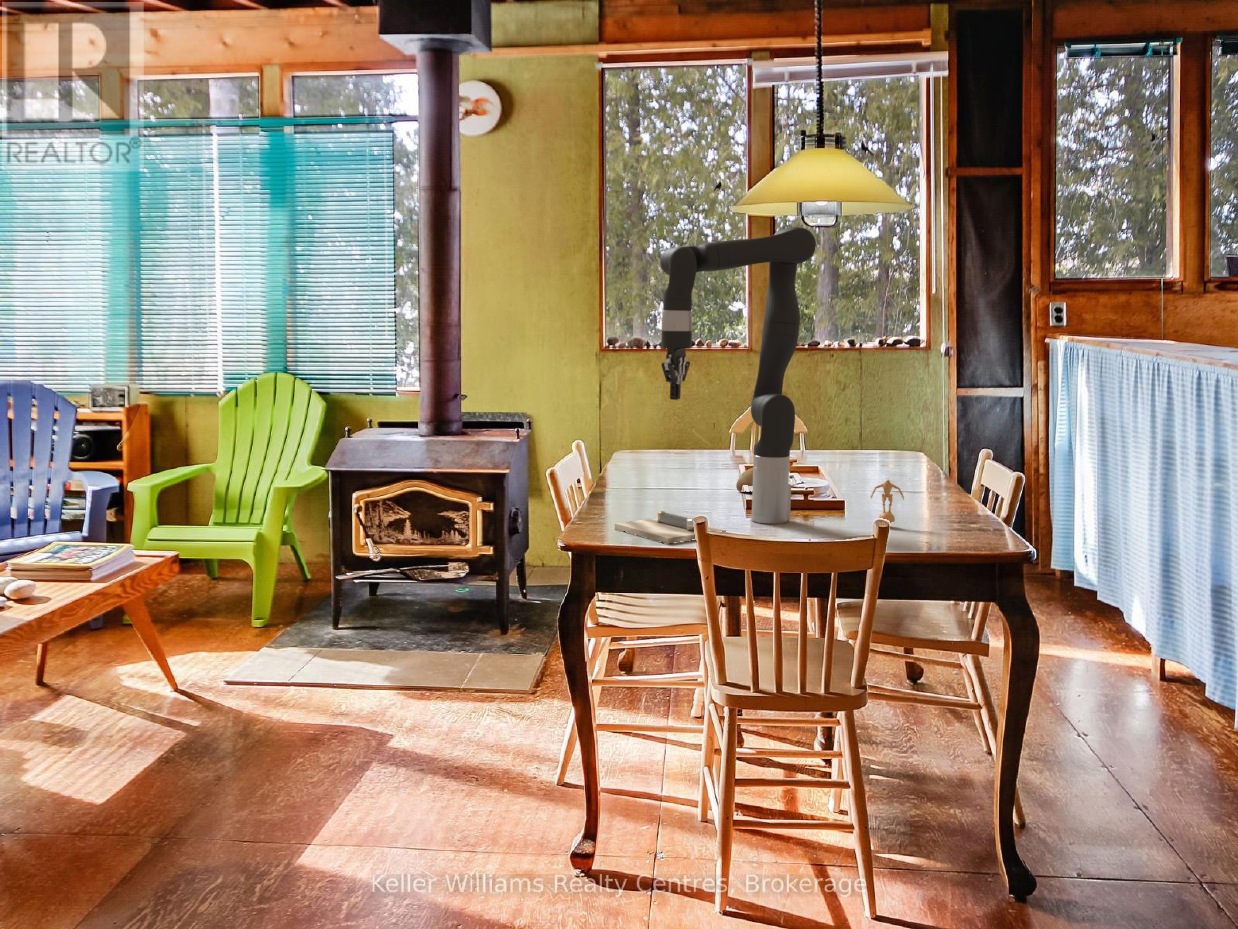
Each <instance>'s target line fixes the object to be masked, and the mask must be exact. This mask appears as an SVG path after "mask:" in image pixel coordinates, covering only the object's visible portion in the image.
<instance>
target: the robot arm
mask: <svg viewBox="0 0 1238 929" xmlns="http://www.w3.org/2000/svg"><path fill="white" fill-rule="evenodd" d="M816 248H817V240H816V238H815V236H814V234H813V233H812V232H811V231H810V230H809V229H807V228H805V227H802V226H792V227H791V226H790V227H785V228H781V229H779V230H777V231H776V232H775V233H774V234H773V235H768V236H764V237H763V236H762V237H755V238H744V239H741V238H740V239H730V240H729V239H728V240H720V241H712V242H707V243H702V244H699V245H689V246H688V245H687V246H686V245H684V246H682V245H681V246H675V247H673V246H672V247H670V248H668V249H666V250H665V251H664V252H663V253H662V254H661V257H660V259H659V260H660V261H659V263H660V264H659V265H660V268H661V270H662V271H663V273H665V274H667V275H668V276H669V278H668V279H669V280H668V285H667V286H666V288H665V289H664V291H663V294H662V295H663V300H662V301H663V302H662V304H663V306H662V314H661V315H662V316H661V333H660V334H661V335H660V336H661V340H660V341H661V342H660V346H661V348H662V349H666V356H665V361H662V362H661V369H662V371H663V375H664V378H665V382H666V383H668V384H669V385H670V386H669V387H670V388H669V399H670V400H674V401H678V400H680V399H681V386H682V384H683V382H685V381H686V378H687V374H688V371H689V368H690V365H691V361H690V360H687V353H686V352H687V351H686V350H690V349H691V348H692V345H693V342H692V341H693V315H692V305H693V304H692V302H693V301H692V300H693V297H692V296H693V294H692V293H693V289H694V285H695V280H696V276H697V273H701V272H717V271H718V272H719V271H724V270H731V269H737V268H741V267H746V266H752V265H758V264H764V263H768V265H769V266H768V285H767V293H766V301H765V311H764V317H763V325H762V333H761V343H760V354H759V359H758V360H759V361H758V362H759V363H758V372H757V376H756V381H755V382H756V383H755V386H754V391H753V394H752V399H751V404H750V413H751V418H752V420H753V421H754V423H755V424H756V425H757V426H759V427H760V437H759V440H758V441H757V442H756V443H755V444H754V447H753V462H752V463H753V465H752V466H753V467H752V468H753V491H752V492H751V493H752V494H751V495H752V498H751V499H752V500H751V521H752V522H755V523H760V524H761V523H762V524H769V525H770V524H774V525H775V524H776V525H777V524H785V523H787V522H788V521H787V520H790V521H791V501H792V485H791V484H790V483H789V478H790V457H791V456H790V454H791V452H790V451H791V448H792V446H793V443H794V437H795V426H796V425H795V424H796V408H795V406H794V403H793V401H792V399H791V398H790V397H788V396H787V395H784V394H783V386H784V385H783V384H784V378H785V374H786V371H787V368H788V366H789V364H790V361H791V359H793V355H794V353H795V351H796V348H797V346H798V341H799V335H800V334H799V333H800V325H801V312H800V306H799V302H798V298H797V293H796V277H797V276H796V275H797V270H798V265H799V264H803V263H805V262H807V261H809V260H810V259H811V258H812V257H813V256H814V254H815V251H816ZM786 521H787V522H786ZM784 522H785V523H784Z"/></svg>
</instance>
